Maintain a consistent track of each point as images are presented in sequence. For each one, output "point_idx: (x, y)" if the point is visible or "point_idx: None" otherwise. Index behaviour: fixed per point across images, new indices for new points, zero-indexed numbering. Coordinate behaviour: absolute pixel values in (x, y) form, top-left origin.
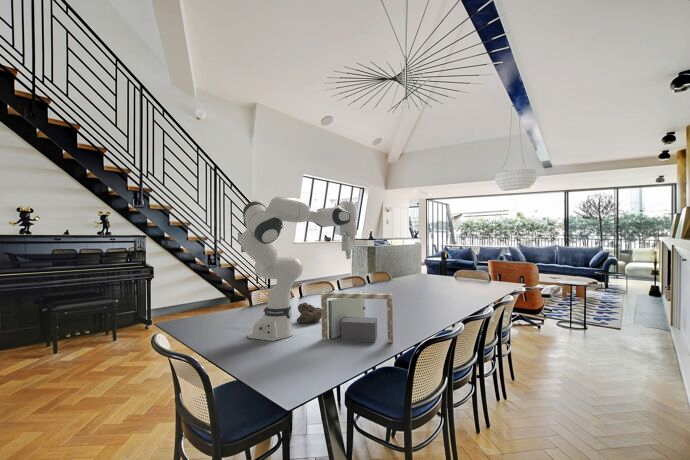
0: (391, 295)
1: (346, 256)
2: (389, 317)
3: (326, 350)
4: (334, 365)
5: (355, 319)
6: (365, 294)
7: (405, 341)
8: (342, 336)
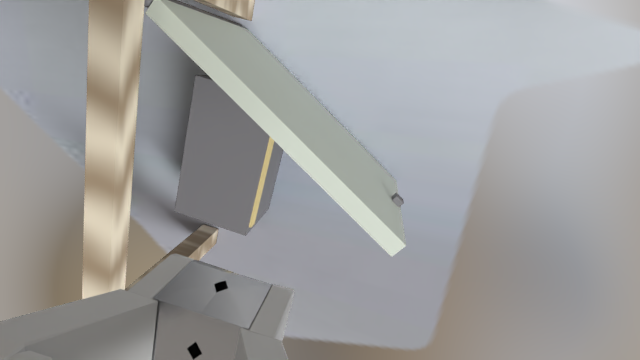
0: None
1: (142, 282)
2: None
3: None
4: (39, 43)
5: (226, 144)
6: (84, 225)
7: None
8: None
